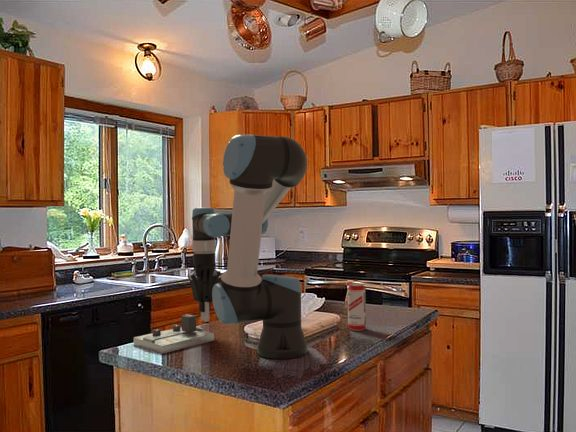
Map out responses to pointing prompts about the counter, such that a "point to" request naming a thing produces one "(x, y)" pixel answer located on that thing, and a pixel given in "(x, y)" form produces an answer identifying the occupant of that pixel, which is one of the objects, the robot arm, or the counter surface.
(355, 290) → the beer can
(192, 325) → the fader tab
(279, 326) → the robot arm
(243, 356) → the counter surface
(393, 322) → the counter surface
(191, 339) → the console
